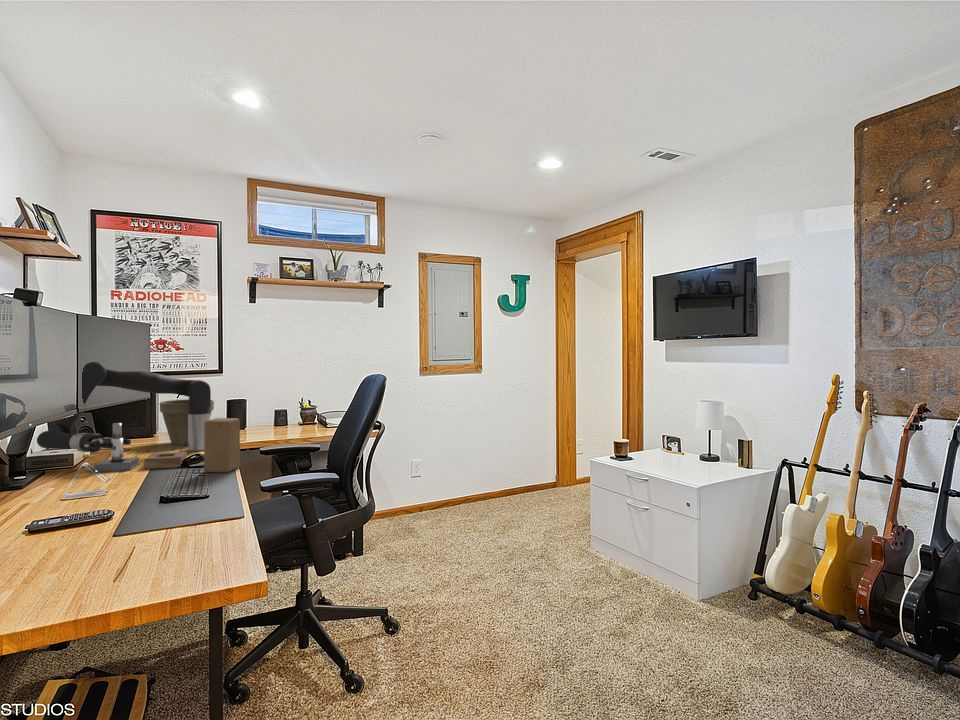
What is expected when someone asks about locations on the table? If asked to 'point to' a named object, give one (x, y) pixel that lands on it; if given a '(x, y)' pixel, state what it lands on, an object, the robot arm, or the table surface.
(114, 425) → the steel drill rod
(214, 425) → the wooden block
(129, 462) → the grey socket
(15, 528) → the table surface
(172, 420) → the plant pot
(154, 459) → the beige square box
